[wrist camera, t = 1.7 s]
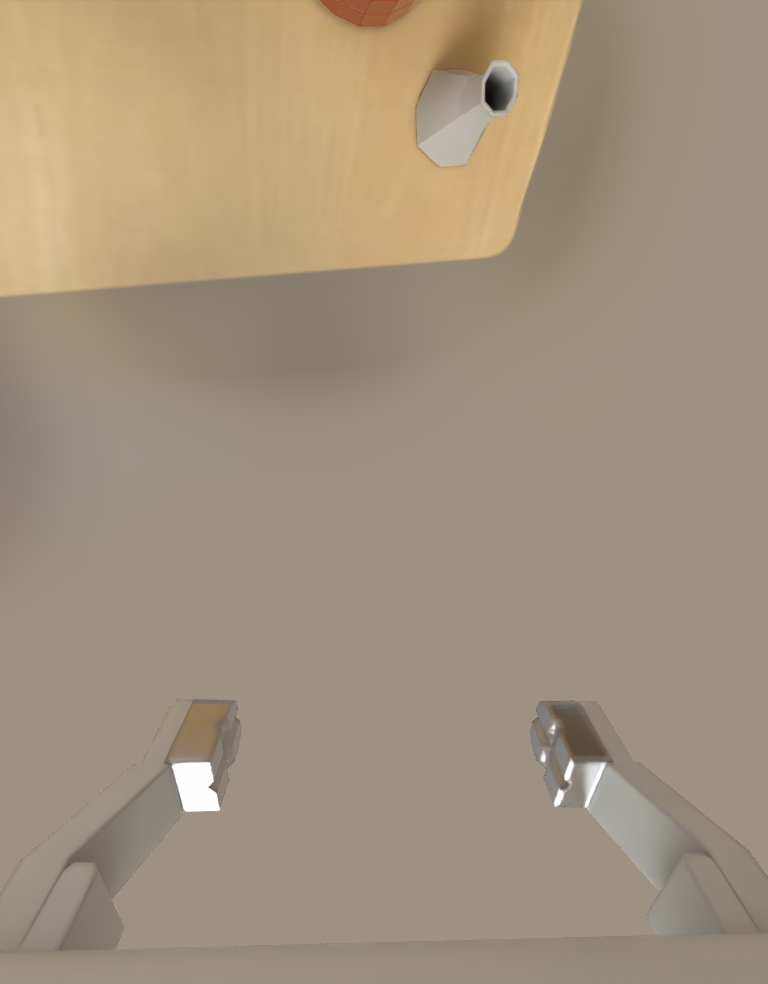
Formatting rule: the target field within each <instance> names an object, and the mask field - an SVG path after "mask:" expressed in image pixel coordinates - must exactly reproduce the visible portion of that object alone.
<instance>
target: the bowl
mask: <svg viewBox="0 0 768 984" xmlns="http://www.w3.org/2000/svg"><path fill="white" fill-rule="evenodd" d="M320 1H321V2H322V3H323V4H324V5H325V6H327V7H328V8H329V9H330V10H331V11H332V12H333V13H334V14H335V15H337V16H339V17H341V18H343V19H345V20H347V21H349V22H352V23H354V24H356V25H358V26H383V25H386V24H388V23H390V22H392V21H394V20H396V19H398V18H400V17H401V16H403V15H405V14H406V13H407V12H408V11H409V10H410V9H411V7H412V6H413V5H414V4H415V3H416V1H417V0H320Z"/></svg>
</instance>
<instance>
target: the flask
mask: <svg viewBox="0 0 768 984" xmlns="http://www.w3.org/2000/svg"><path fill="white" fill-rule="evenodd" d="M518 86H519V73H518V72H517V70H516V69H515V68H514V67H513V65H512V64H511V63H510V62H509V60H492V61H491V62H490V64H489V66H488V68H487V70H486V72H485V73H483V74H482V75H477V74H474V73H471V72H469V71H467V70H465V69H443V70H433V71H432V73H431V76H430V78H429V80H428V82H427V84H426V86H425V88H424V90H423V92H422V94H421V96H420V98H419V100H418V103H417V105H416V119H417V146H418V147H419V148H420V149H421V150H422V151H423V152H424V153H425V154H426V155H427V156H428V157H429V158H430V159H431V160H432V161H433V162H435V163H436V164H437V165H438V166H439V167H448V166H461V165H466V164H467V162H468V160H469V158H470V157H471V155H472V153H473V151H474V149H475V147H476V146H477V144H478V142H479V140H480V138H481V136H482V135H483V133H484V131H485V128H486V126H487V125H488V123H489V122H490V121H491V120H492V119H493V118H494V117H503V116H507V115H508V114H509V112H510V110H511V108H512V106H513V105H514V103H515V101H516V99H517V97H518Z"/></svg>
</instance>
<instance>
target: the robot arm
mask: <svg viewBox="0 0 768 984" xmlns="http://www.w3.org/2000/svg"><path fill="white" fill-rule="evenodd" d="M237 711H238V707H237V701H235V700H202V699H176V700H175V701H174V702H173V703H172V705H171V706H170V708H169V710H168V712H167V713H166V715H165V717H164V719H163V721H162V723H161V725H160V727H159V729H158V731H157V733H156V735H155V737H154V739H153V741H152V742H151V744H150V747H149V748H148V751H147V752H146V754H145V756H144V758H143V760H142V762H141V764H134V765H132V766H131V767H130V768H129V769H128V770H127V771H125V772H124V773H123V774H122V775H121V776H120V777H119V778H117V779H116V780H115V781H114V782H113V783H111V784H110V785H109V786H108V787H107V788H105V789H104V790H103V791H102V792H101V793H99V794H98V795H97V796H96V797H95V798H94V799H92V800H91V801H90V802H89V803H88V804H87V805H85V806H84V807H83V808H82V809H81V810H80V811H78V812H77V813H76V814H75V815H73V816H72V817H71V818H70V819H69V820H68V821H66V822H65V823H64V824H63V825H62V826H61V827H59V828H58V829H57V830H56V831H55V832H53V833H52V834H51V835H50V836H49V837H48V838H46V839H45V840H44V841H43V842H42V843H41V844H39V845H38V846H37V847H36V848H35V849H33V850H32V851H31V852H30V853H29V854H27V855H26V856H25V857H24V858H23V859H22V860H20V862H19V864H18V865H17V867H16V868H15V870H14V871H13V873H12V874H11V876H10V877H9V879H8V880H7V882H6V883H5V885H4V887H3V888H2V890H1V891H0V984H768V877H767V875H766V874H765V872H764V871H763V869H762V868H761V867H760V865H759V864H758V862H757V861H756V860H755V858H754V857H753V855H752V854H751V853H750V851H749V850H748V849H747V848H745V847H744V846H743V845H741V844H740V843H739V842H738V841H737V840H735V839H734V838H733V837H732V836H730V835H729V834H728V833H727V832H725V831H724V830H723V829H722V828H720V827H719V826H718V825H717V824H715V823H714V822H713V821H712V820H710V819H709V818H708V817H707V816H705V815H704V814H703V813H702V812H701V811H699V810H698V809H697V808H696V807H694V806H693V805H692V804H691V803H689V802H688V801H687V800H686V799H685V798H683V797H682V796H681V795H680V794H678V793H677V792H676V791H675V790H673V789H672V788H671V787H670V786H668V785H667V784H666V783H665V782H663V781H662V780H661V779H660V778H658V777H657V776H656V775H655V774H653V773H652V772H651V771H650V770H649V769H647V768H646V767H645V766H644V765H642V764H641V763H639V762H638V763H637V762H634V761H633V760H632V758H631V756H630V755H629V753H628V751H627V750H626V748H625V746H624V745H623V743H622V741H621V740H620V738H619V736H618V735H617V733H616V731H615V730H614V728H613V726H612V725H611V723H610V721H609V720H608V718H607V717H606V715H605V713H604V712H603V710H602V708H601V706H600V705H599V704H598V703H597V702H594V701H541V702H539V703H538V705H537V708H536V712H537V714H538V717H537V718H536V719H535V720H534V721H533V722H532V725H531V730H530V734H531V744H532V748H533V752H534V754H535V757H536V760H537V761H538V762H539V763H540V764H541V765H542V766H543V767H544V768H545V769H546V771H545V775H544V781H545V784H546V786H547V789H548V791H549V794H550V797H551V799H552V802H553V804H554V807H574V808H576V807H577V808H588V809H587V810H588V811H589V812H590V813H591V815H593V817H594V818H595V819H596V820H597V821H598V823H599V824H600V825H601V826H602V827H603V828H604V829H605V830H606V832H607V833H608V834H609V835H610V836H611V837H612V838H613V839H614V841H615V842H616V843H617V844H618V845H619V846H620V848H621V849H622V850H623V851H624V852H625V853H626V854H627V855H628V857H629V858H630V859H631V860H632V861H633V862H634V863H635V865H636V866H637V867H638V868H639V869H640V870H641V871H642V873H643V874H644V875H645V876H646V877H647V878H648V879H649V880H650V882H651V883H652V884H653V885H654V886H655V887H656V888H657V890H658V891H659V894H658V895H657V897H656V898H655V900H654V901H653V903H652V904H651V906H650V908H649V911H648V914H647V915H648V917H649V920H650V922H651V924H652V926H653V928H654V930H655V933H656V935H642V936H603V937H564V938H528V939H486V940H449V941H448V940H447V941H408V942H370V943H332V944H331V943H330V944H295V945H294V944H292V945H256V946H255V945H254V946H217V947H178V948H142V949H116V947H117V945H118V942H119V940H120V937H121V935H122V932H123V930H124V924H123V921H122V918H121V916H120V914H119V912H118V910H117V908H116V906H115V903H114V902H113V898H114V896H115V895H116V894H117V893H118V892H119V890H120V889H121V888H122V887H123V886H124V884H125V883H126V882H127V881H128V880H129V879H130V877H131V876H132V875H133V874H134V873H135V871H136V870H137V869H138V868H139V867H140V865H141V864H142V863H143V862H144V861H145V859H146V858H147V857H148V856H149V855H150V853H151V852H152V851H153V850H154V849H155V848H156V846H157V845H158V844H159V843H160V842H161V840H162V839H163V838H164V837H165V836H166V834H167V833H168V832H169V831H170V830H171V828H172V827H173V826H174V825H175V824H176V822H177V821H178V820H179V819H180V818H181V816H182V815H183V812H184V811H207V810H220V807H221V804H222V801H223V798H224V794H225V791H226V788H227V785H228V782H229V778H228V772H227V768H228V767H229V766H231V765H232V764H233V762H234V761H235V758H236V755H237V752H238V747H239V741H240V733H241V726H240V721H239V720H238V719H237V718H236V714H237Z"/></svg>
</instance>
